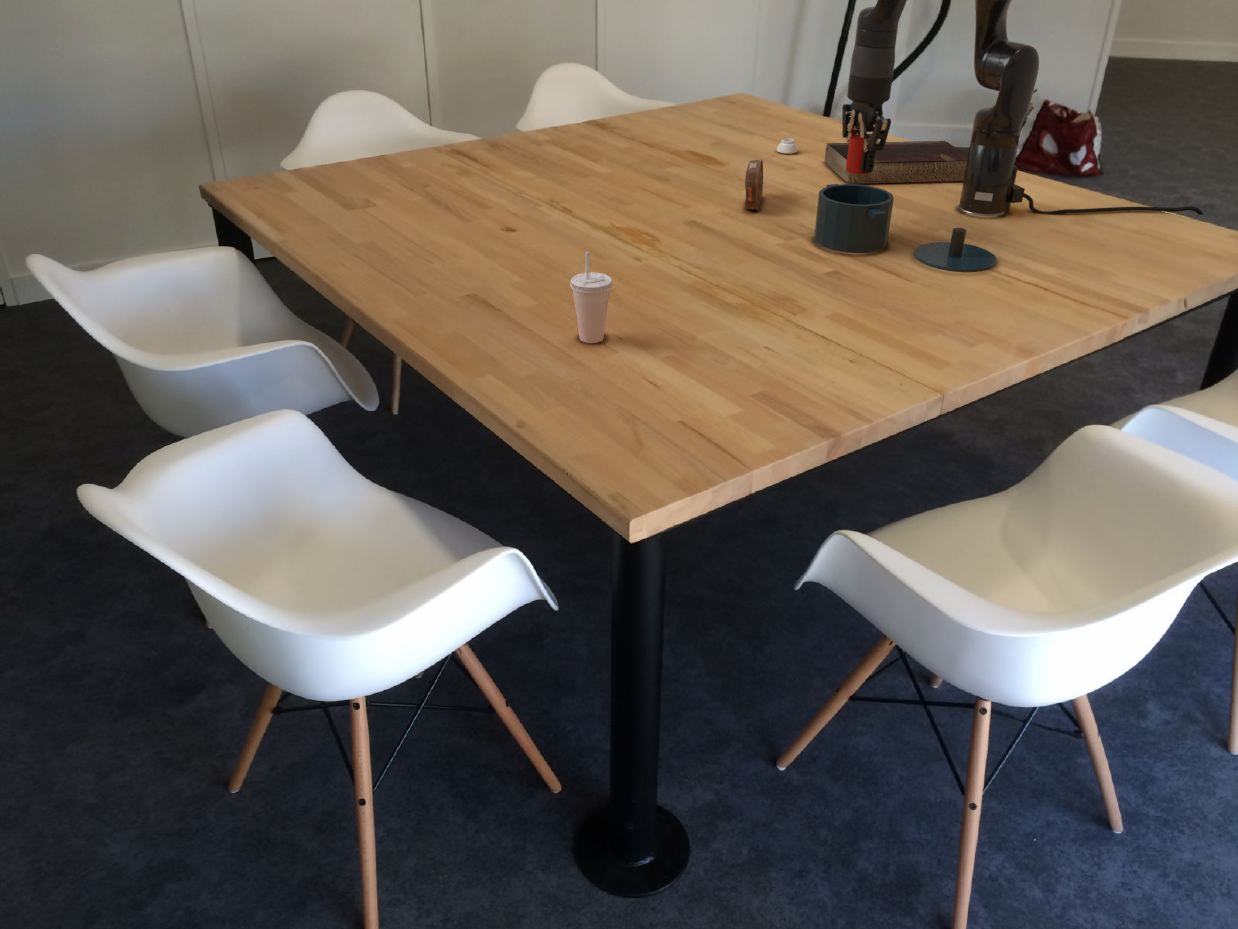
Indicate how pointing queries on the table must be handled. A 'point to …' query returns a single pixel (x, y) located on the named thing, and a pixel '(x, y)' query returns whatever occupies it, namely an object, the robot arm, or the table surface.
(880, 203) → the pot
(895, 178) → the hardback book
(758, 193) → the tin
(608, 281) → the smoothie
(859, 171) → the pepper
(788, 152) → the lidless jar
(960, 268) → the lid
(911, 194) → the table surface
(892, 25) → the robot arm
